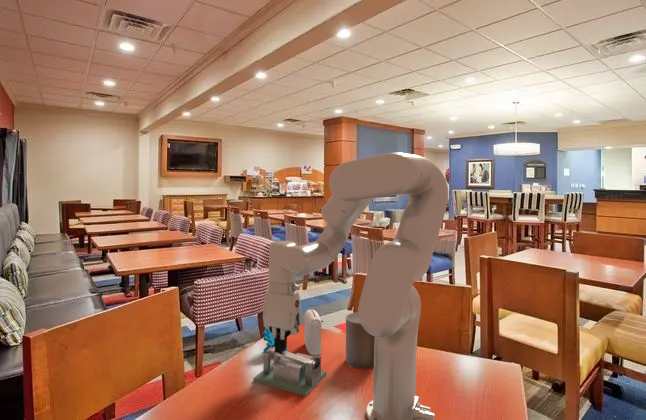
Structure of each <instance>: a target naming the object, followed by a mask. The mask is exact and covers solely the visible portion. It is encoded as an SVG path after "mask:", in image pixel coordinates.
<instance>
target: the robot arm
mask: <svg viewBox="0 0 646 420" xmlns="http://www.w3.org/2000/svg"><path fill="white" fill-rule="evenodd" d="M328 185H329V187H328V188H329V190H330V192H331V196H330V197H329V198H328V199H327V201H326V203H325V204H324V205H323V207H322V208H321V217H322V218H323V220H324V221H325V223H326V224H325V227H324V229H323V231H322V232H321V234H320V235H319V236H318V238H317V239H316V240H315V241H314V242H310V243H307V244H306V243H305V244H301V245H297V244H296V242H294V241H291V240H275V241H273V242H271V244H270V245H269V257H268V260H269V261H268V285H267V286H268V287H267V288H268V289H266V292H265V296H264V301H263V307H262V308H263V309H262V321H263V328H268V329H270V331H271V332H272V335H273V338H274V347H275V352H276V353H277V352H278V353H280V354H281V353H282V352H283V351H285V350H286V348H288V347H287V346H288V344H287V343H288V337H289V336H293V335H294V336H296V335H298V334H300V333H299V332H300V329H299V326H301V324H302V303H301V297H300V292H299V291H301V286H300V285H299V284H297V283H298V282H297V277H302V276H303V277H304V276H307V275H310V274H312V273H315V272H318V271H320V270H323V269H326V268H327V267H328V266H330V265H331V263H332V262H334V261H335V259H336V258H337V257H338V255H339V254H340V253H341V251H343V248H344V247H345V245H346V243H347V242H348V239H349V236H350V230H351V229H352V227H353V226H354V224H355V223H356V222H357V220H358V219H359V218H360V217H361V216H362V214H363V212H364V211H365V210H366V209H367V208H368V207H369V205H370V204H371V202H372V201H373V200H374V199H375V198H376V199H377V198H381V197H382V198H383V197H390V196H399V195H400V196H401V195H408V201H407V203H406V206H405V208H404V210H403V212H402V214H401V216H400V217H401V218H400V220H399V224H398V225H399V226H398V228H397V231H396V234H395V236H394V239H393V240H392V241H390V242H387V243H385V244H383V245H381V246H380V247H379V248H378V249H377V250H376V251H375V253H374V254H373V256H372V258H371V259H370V263H369V266H368V270H367V274H366V275H365V278H364V283H363V287H362V290H361V294H360V298H359V301H358V308H357V309H358V311H357V312H358V316H359V320H360V323H361V325H362V327H363V328H364V329H365V331H366V332H367V333H369V334H370V335H372V336H375V341H374V367H373V388H372V389H373V391H372V395H373V396H372V400H371V401H369V402H368V404H367V405H366V409H365V413H366V418H367V420H435V413H434V412H432V410H431V409H432V407H431V406H428V405H422V404H421V403H419V396H417V395H416V382H417V381H416V380H417V353H418V352H417V350H418V332H419V324H420V320H421V312H422V310H421V309H422V303H421V297H420V294H419V292H418V290H417V288H416V287H415V286H414V283H415V282H417V281H418V280H420V279H421V278H423V277H424V275H426V274H427V272H428V270H429V268H430V265H431V262H432V257H433V255H434V254H433V253H434V250H435V248H436V245H437V242H438V238H439V235H440V232H441V231H440V230H441V227H442V224H443V221H444V218H445V214H446V211H447V206H448V201H449V187H448V183H447V180H446V177H445V175H444V173H443V172H442V171H441V170H440V168H439V167H438V166H437V165H436V164H435V163H434V162H433V161H431V160H430V159H428V158H426V157H424V156H421V155H417V154H412V153H405V152H388V153H382V154H378V155H374V156H369V157H364V158H360V159H355V160H354V159H353V160H350V161H349V160H348V161H345V162H342V163H340V164H338V165H337V166H336V167H334V168H333V170H332V171H331V174H330V175H329V180H328ZM270 331H269V332H270ZM274 347H273V348H274Z"/></svg>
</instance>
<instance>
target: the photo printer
mask: <svg viewBox="0 0 646 420" xmlns="http://www.w3.org/2000/svg"><path fill="white" fill-rule="evenodd" d="M304 346H305V348H306V351H307V352H308V355H309V356H314V355H315V356H320V354H322V320H321V317H320V315H319V313H318V312H317V311H316V310H314V309H308V310H307V311H305V313H304Z"/></svg>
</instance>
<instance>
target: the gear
mask: <svg viewBox="0 0 646 420" xmlns="http://www.w3.org/2000/svg"><path fill="white" fill-rule="evenodd" d="M262 335H264V336H263V337H262V339H263V341H264V342H266V347H265V348H263V351H264V352H267V351H268V350H270V349H272V348H274V338H273V335H272V332H271V331H270V329H268V328H266V327H264V331H262ZM288 349H289V347H287V348H286V350H285V351H288Z"/></svg>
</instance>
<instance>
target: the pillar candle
mask: <svg viewBox="0 0 646 420" xmlns="http://www.w3.org/2000/svg"><path fill="white" fill-rule="evenodd" d="M374 341H375V336H372V335H370V334H369V333H367V332H366V331H365V329H364V328H363V327H362V325H361V323H360V320H359V316H358V311H356V312H351V313H348V314H347V315H346V316H345V362H346V364H347V365H348V366H349V367H351V368H354V369H358V370H359V369H360V370H364V369H372V368H373V369H374Z"/></svg>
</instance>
